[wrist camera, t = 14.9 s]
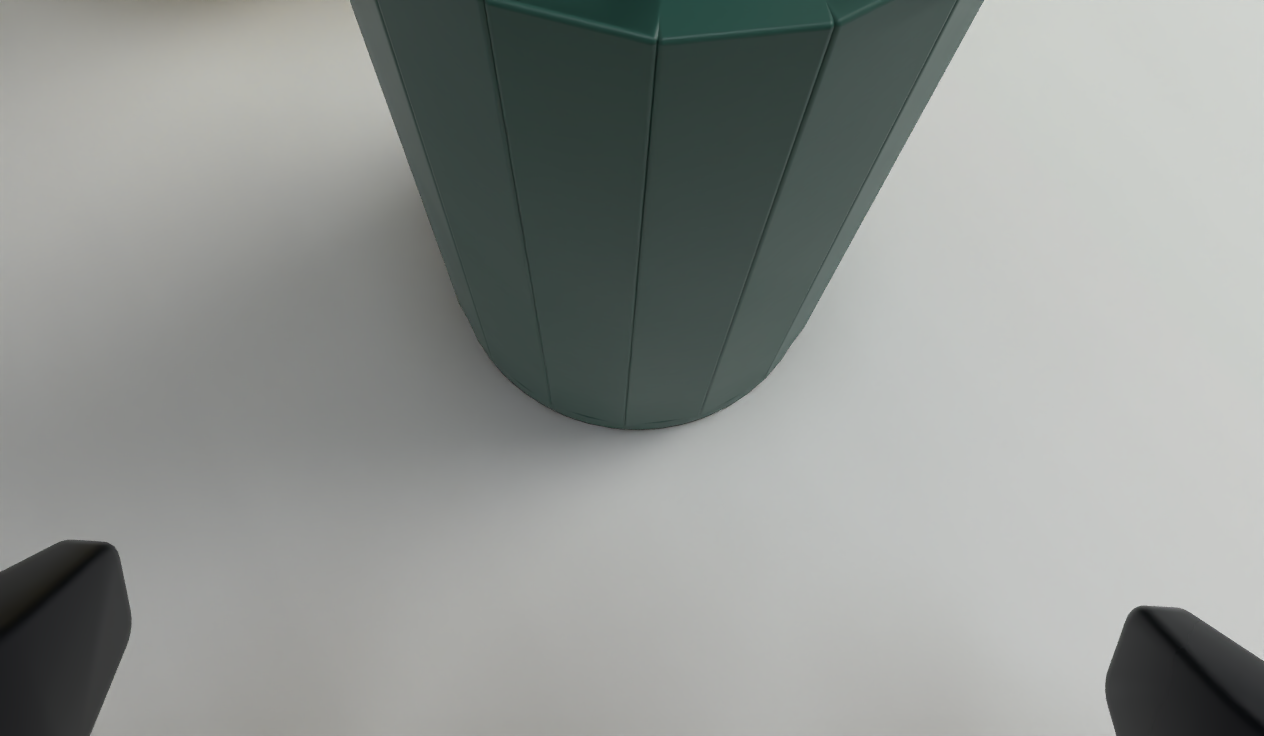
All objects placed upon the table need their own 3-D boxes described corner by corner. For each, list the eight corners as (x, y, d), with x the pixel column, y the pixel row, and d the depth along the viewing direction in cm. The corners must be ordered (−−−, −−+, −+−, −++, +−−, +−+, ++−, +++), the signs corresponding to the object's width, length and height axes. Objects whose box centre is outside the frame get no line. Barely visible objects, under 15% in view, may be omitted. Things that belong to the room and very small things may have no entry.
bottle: (566, 498, 18) (434, -278, 4) (397, 198, 20) (-153, -1145, 5) (879, 321, 19) (1702, -787, 5) (694, 52, 21) (902, -1373, 6)
